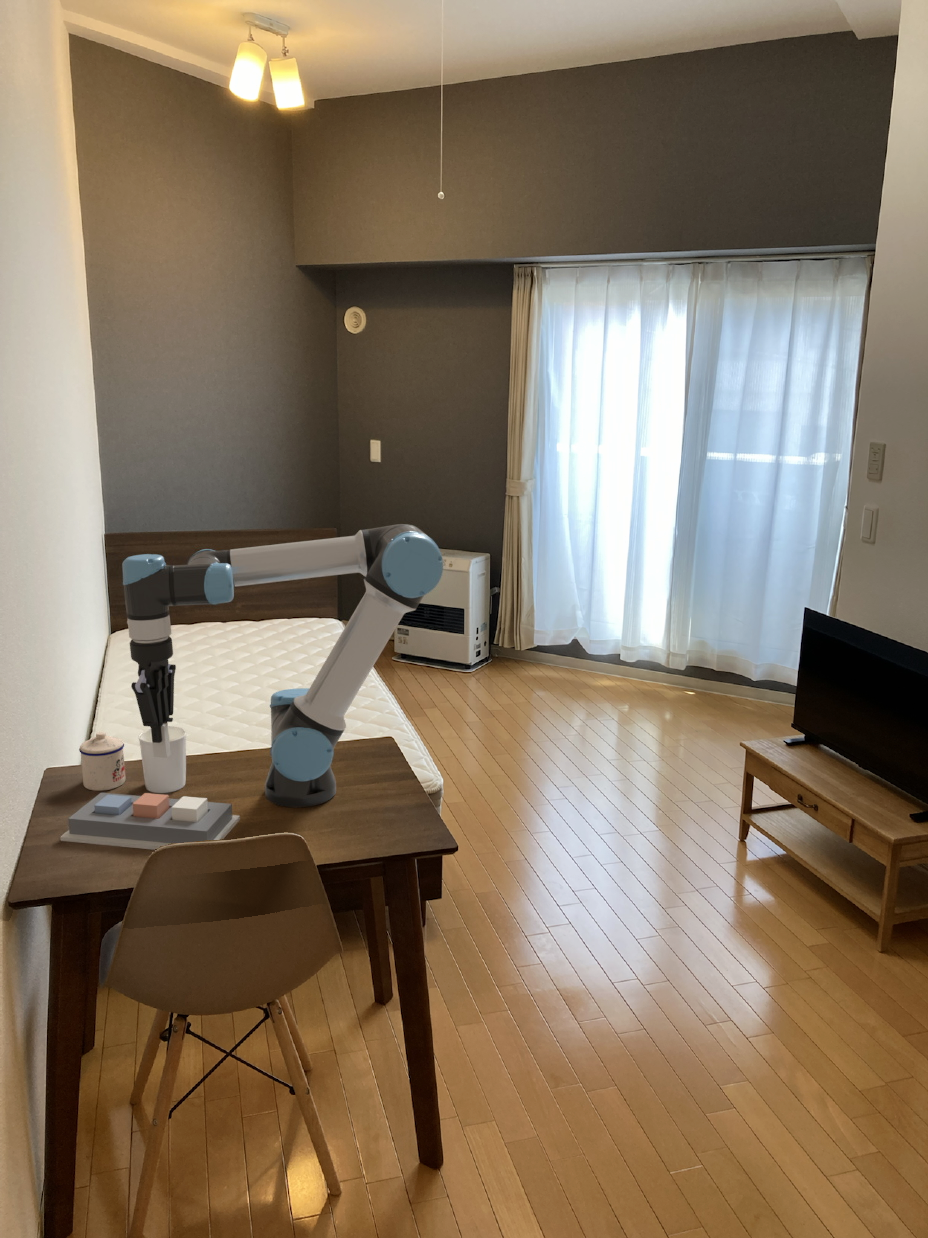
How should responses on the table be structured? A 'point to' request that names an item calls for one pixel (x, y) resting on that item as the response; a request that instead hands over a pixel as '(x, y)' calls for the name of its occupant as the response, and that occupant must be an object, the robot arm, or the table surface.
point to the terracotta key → (151, 805)
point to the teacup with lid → (102, 762)
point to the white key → (190, 809)
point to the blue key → (113, 805)
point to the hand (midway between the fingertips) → (162, 755)
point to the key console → (146, 826)
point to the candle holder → (164, 762)
